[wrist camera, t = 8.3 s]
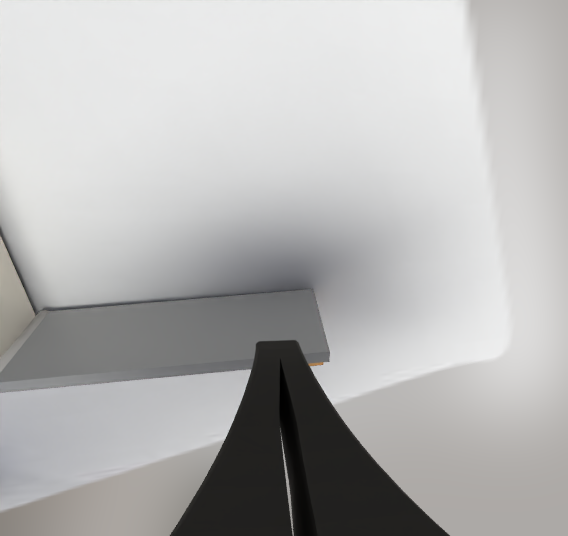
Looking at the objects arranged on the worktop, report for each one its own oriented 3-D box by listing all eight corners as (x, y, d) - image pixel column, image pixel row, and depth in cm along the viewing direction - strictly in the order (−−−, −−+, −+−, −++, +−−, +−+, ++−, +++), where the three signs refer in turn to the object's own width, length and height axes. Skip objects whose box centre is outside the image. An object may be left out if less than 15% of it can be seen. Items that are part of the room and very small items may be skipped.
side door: (45, 328, 18) (-12, 402, 14) (35, 310, 18) (-27, 382, 14) (312, 305, 19) (328, 369, 15) (312, 287, 18) (329, 349, 14)
